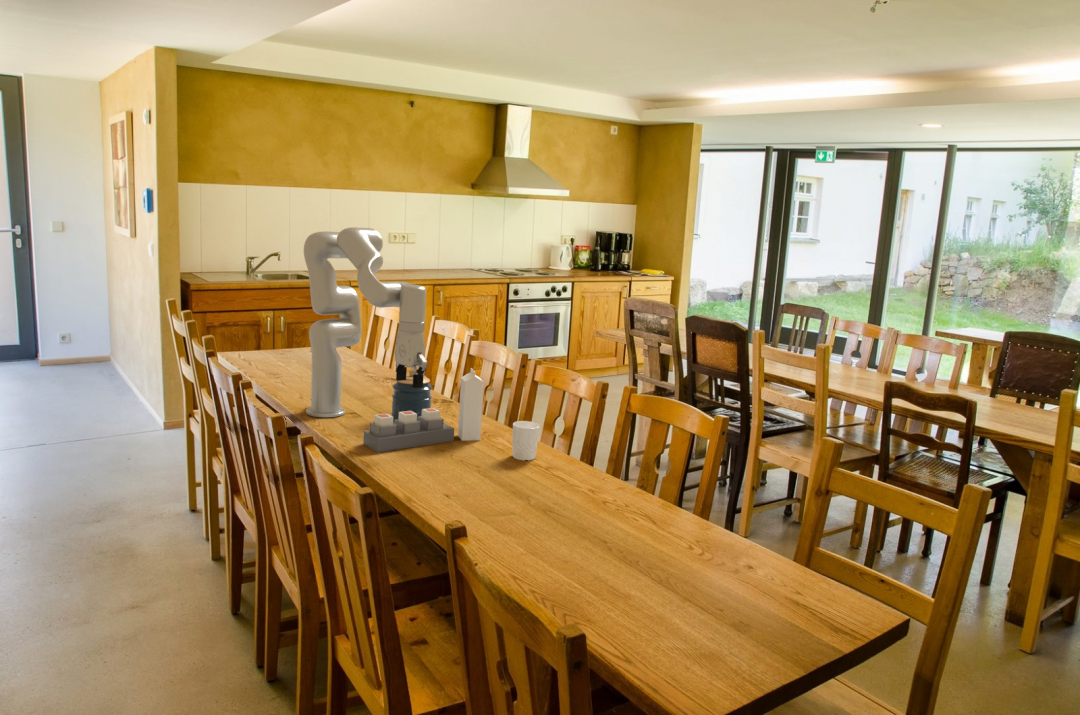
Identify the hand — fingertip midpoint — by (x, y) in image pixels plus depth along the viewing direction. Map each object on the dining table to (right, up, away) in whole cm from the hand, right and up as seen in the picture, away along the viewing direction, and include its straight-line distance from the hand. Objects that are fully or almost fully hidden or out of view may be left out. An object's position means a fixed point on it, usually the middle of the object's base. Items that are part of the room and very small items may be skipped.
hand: (409, 383), depth 228 cm
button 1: (-7, -12, -3) cm, 14 cm away
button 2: (-1, -12, +2) cm, 12 cm away
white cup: (+34, -22, -2) cm, 41 cm away
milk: (+17, -18, +13) cm, 28 cm away
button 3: (+5, -11, +7) cm, 14 cm away
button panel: (-1, -18, +4) cm, 18 cm away
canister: (-4, -13, +27) cm, 30 cm away
